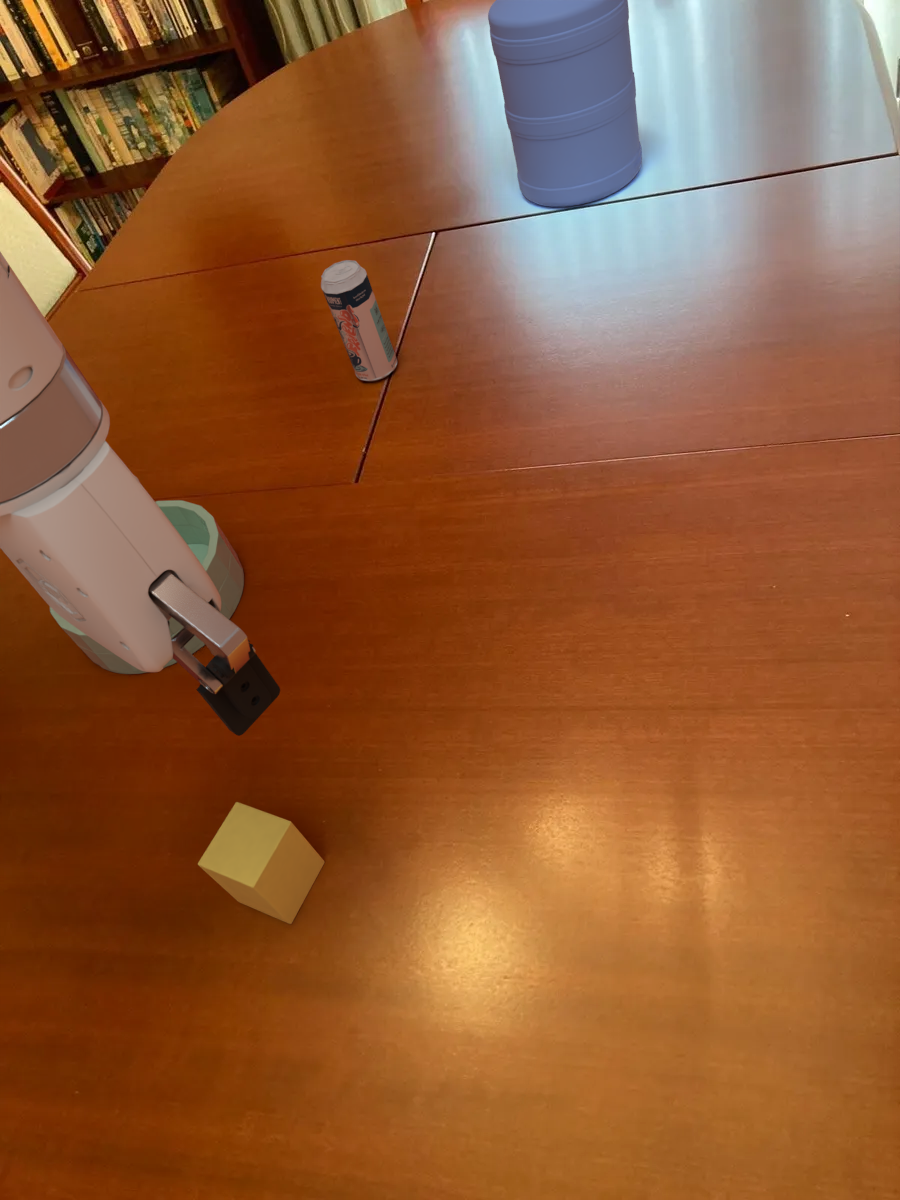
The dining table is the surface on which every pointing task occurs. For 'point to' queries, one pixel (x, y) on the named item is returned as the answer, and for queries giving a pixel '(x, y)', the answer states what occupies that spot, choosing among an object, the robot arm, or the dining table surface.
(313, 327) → the dining table surface
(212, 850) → the sponge
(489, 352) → the dining table surface
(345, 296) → the beer can
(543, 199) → the water jug
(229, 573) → the bowl
